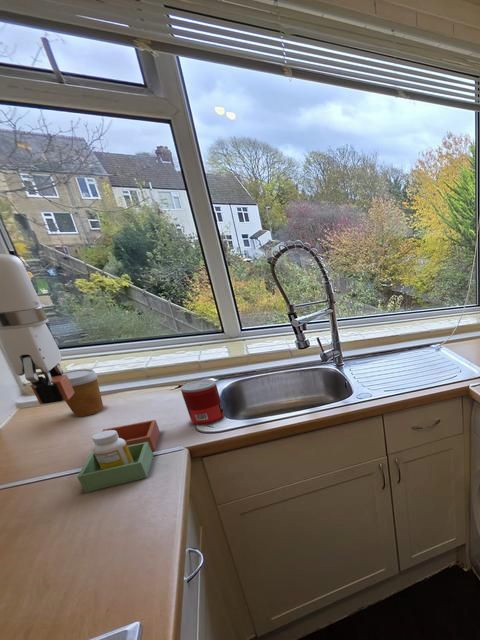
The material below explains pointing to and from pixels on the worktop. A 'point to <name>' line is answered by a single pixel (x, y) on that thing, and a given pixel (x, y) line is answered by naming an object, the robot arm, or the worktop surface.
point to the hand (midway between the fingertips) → (57, 396)
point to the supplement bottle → (111, 450)
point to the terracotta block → (60, 387)
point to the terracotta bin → (139, 433)
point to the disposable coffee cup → (84, 392)
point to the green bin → (116, 469)
